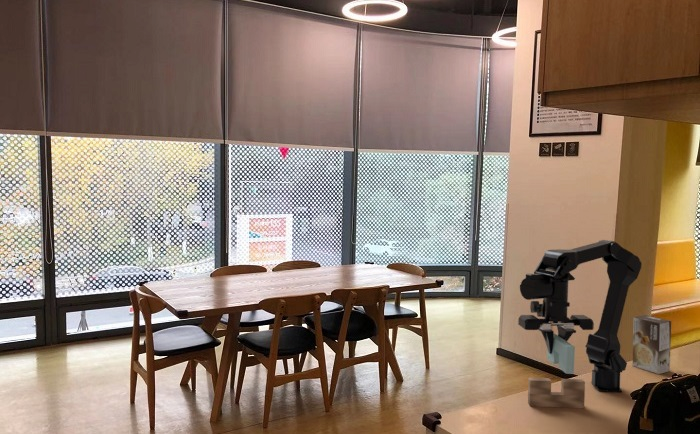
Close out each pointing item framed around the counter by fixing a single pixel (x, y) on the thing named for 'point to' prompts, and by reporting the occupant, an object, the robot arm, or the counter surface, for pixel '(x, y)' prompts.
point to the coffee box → (651, 343)
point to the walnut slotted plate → (556, 393)
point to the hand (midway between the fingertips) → (554, 353)
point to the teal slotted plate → (562, 354)
